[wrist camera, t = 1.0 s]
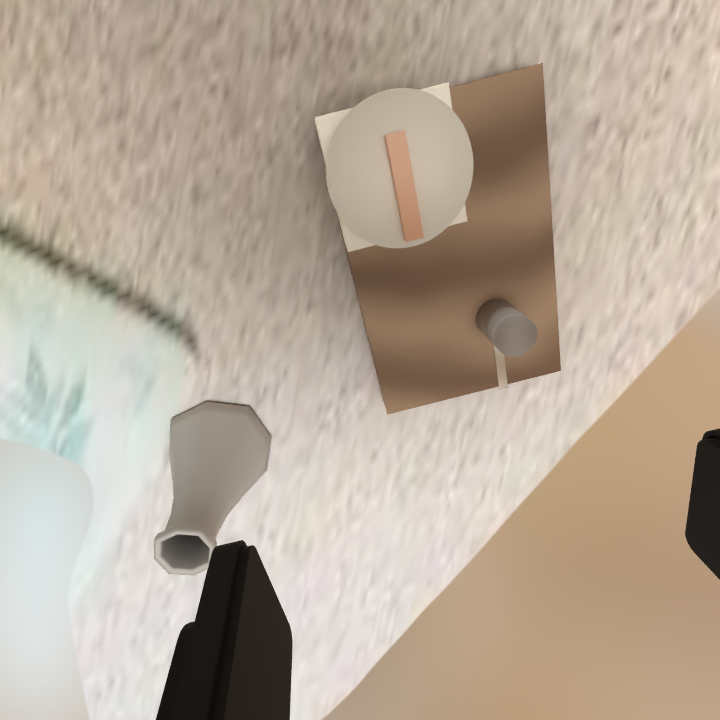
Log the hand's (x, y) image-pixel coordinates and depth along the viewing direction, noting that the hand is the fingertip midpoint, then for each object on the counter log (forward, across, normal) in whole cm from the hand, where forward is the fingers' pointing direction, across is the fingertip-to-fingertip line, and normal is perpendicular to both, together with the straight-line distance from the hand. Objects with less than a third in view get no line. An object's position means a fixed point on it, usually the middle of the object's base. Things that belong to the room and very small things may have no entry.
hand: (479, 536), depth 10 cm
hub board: (+21, -5, 0) cm, 22 cm away
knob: (+20, -2, -6) cm, 21 cm away
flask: (+21, +13, +9) cm, 27 cm away
